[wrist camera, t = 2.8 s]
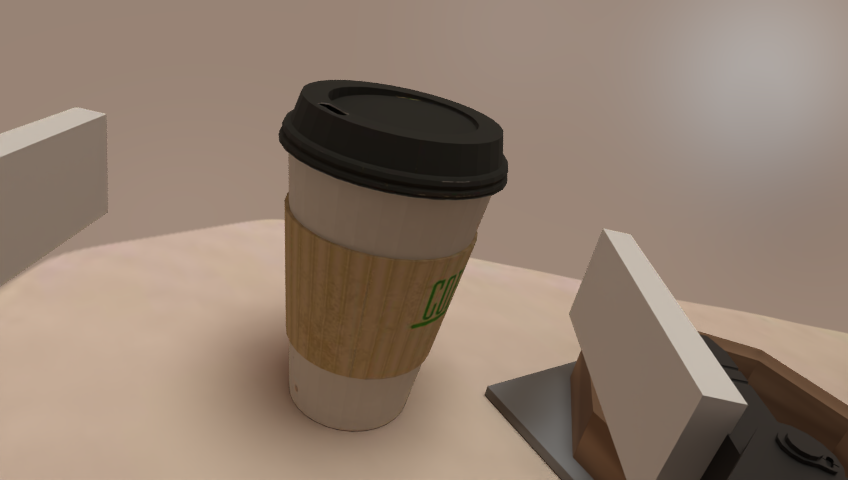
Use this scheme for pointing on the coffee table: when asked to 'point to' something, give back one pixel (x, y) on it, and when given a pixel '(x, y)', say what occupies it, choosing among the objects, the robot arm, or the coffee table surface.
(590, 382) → the cup collar
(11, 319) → the coffee table surface
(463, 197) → the coffee cup
